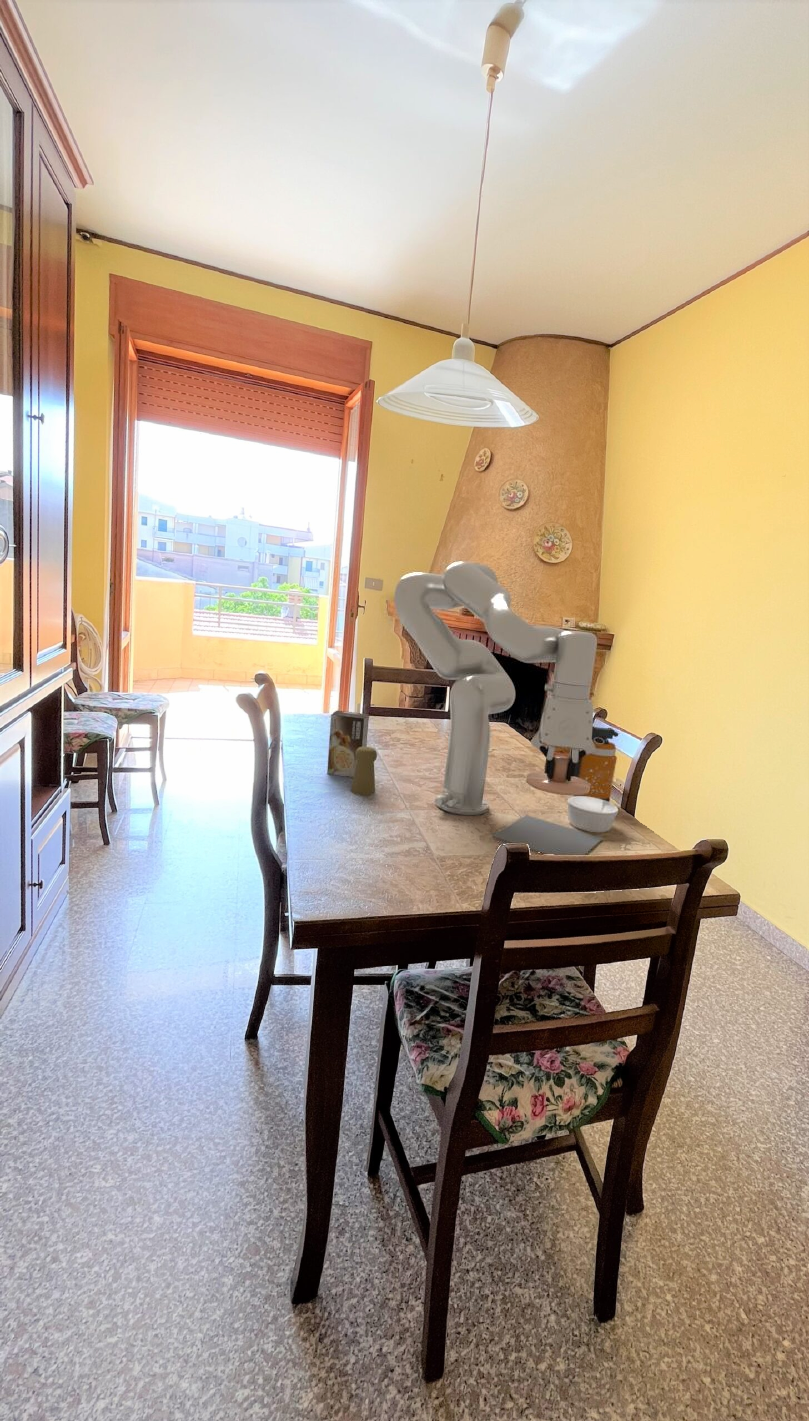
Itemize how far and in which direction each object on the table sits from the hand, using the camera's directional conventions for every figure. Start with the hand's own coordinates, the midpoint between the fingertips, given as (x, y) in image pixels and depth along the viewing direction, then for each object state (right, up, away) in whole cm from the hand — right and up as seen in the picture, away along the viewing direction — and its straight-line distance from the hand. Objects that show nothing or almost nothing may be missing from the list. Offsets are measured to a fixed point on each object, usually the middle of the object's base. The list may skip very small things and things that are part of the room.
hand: (558, 777), depth 132 cm
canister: (+15, -10, +31) cm, 36 cm away
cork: (-42, -6, +21) cm, 48 cm away
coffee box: (-48, -3, +34) cm, 59 cm away
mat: (-2, -13, +3) cm, 14 cm away
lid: (0, -2, 0) cm, 2 cm away
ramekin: (+10, -13, +14) cm, 21 cm away
